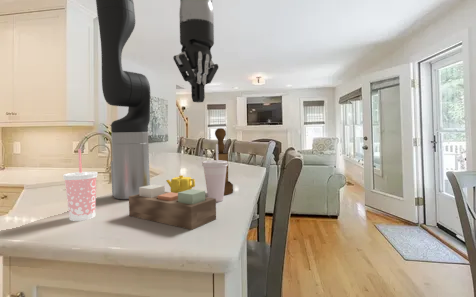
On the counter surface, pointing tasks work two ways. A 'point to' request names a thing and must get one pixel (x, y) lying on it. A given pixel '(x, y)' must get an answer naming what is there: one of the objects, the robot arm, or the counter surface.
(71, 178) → the beverage cup
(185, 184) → the teapot
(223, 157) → the mortar and pestle
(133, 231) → the counter surface
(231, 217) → the counter surface
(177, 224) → the key panel
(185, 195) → the sage key
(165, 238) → the counter surface
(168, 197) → the terracotta key
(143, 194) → the offwhite key
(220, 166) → the smoothie
